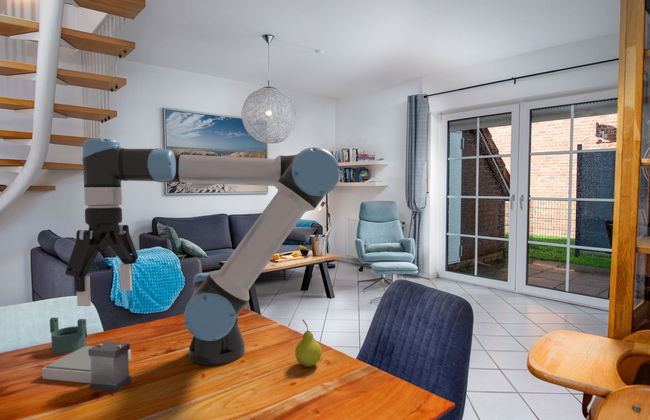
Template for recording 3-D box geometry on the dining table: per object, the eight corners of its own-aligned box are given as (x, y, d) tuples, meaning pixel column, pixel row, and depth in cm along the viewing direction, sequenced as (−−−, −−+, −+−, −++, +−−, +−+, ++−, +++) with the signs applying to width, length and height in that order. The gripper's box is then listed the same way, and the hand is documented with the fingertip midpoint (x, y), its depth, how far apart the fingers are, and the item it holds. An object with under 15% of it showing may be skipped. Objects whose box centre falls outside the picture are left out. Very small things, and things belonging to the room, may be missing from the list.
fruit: (327, 365, 104) (326, 320, 104) (309, 374, 99) (308, 327, 99) (308, 357, 109) (308, 314, 108) (290, 366, 104) (289, 320, 103)
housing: (131, 381, 96) (129, 341, 96) (116, 391, 91) (115, 350, 91) (105, 379, 98) (103, 340, 97) (90, 389, 93) (88, 348, 92)
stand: (131, 358, 109) (130, 347, 109) (92, 383, 95) (91, 371, 95) (86, 355, 112) (86, 344, 112) (42, 378, 98) (42, 366, 98)
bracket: (87, 349, 116) (86, 319, 115) (48, 356, 111) (47, 325, 111) (87, 340, 123) (86, 311, 123) (51, 346, 119) (50, 316, 118)
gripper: (125, 204, 105) (128, 283, 106) (42, 209, 81) (46, 312, 82) (151, 204, 104) (153, 285, 105) (74, 209, 79) (78, 314, 80)
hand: (106, 297), depth 93 cm, fingers open, 13 cm apart
